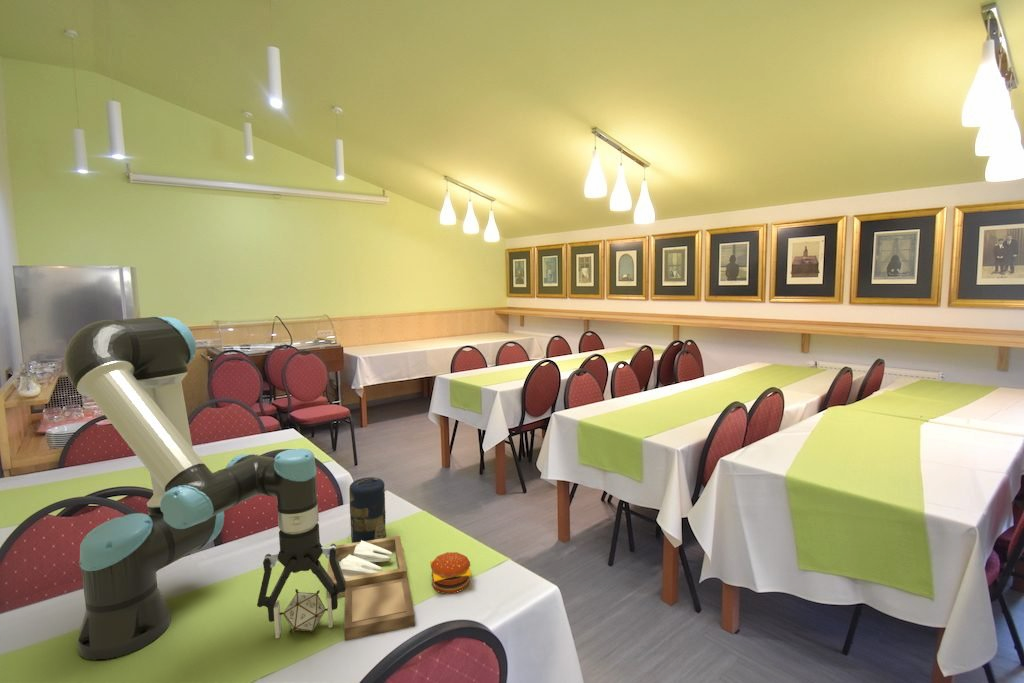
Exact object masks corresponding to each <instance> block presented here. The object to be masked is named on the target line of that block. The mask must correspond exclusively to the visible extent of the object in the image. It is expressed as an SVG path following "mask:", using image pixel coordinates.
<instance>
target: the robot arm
mask: <svg viewBox="0 0 1024 683" xmlns="http://www.w3.org/2000/svg"><path fill="white" fill-rule="evenodd" d="M196 354H197V343H196V340H195V337H194V335H193V333H192V331H191V330H190V328H189V327H188V326H187V325H186V324H184V322H183V321H181V320H180V319H178V318H175V317H172V316H171V317H170V316H150V317H139V318H138V317H135V318H123V319H103V320H98V321H95V322H94V321H93V322H92V323H89V324H87V325H85V326H83V327H82V328H81V329H79V330H77V331H76V333H74V334H73V336H72V338H71V339H70V340H69V342H68V344H67V346H66V349H65V353H64V368H65V372H66V375H67V378H68V380H69V381H70V383H71V385H72V386H73V387H74V388H75V390H76V391H77V392H78V393H79V395H80V396H83V397H89V398H91V400H93V402H94V403H95V404H96V406H97V407H98V409H99V410H100V411H101V412H102V413H103V415H104V417H106V419H107V420H108V421H109V422H110V423H111V425H112V426H113V427H114V429H115V430H116V431H117V432H118V434H119V435H120V436H121V438H122V439H123V441H124V442H126V444H127V445H128V447H129V448H130V449H131V451H133V453H134V454H135V455H136V457H137V458H138V459H139V460H140V462H141V463H142V464H143V465H144V467H145V468H146V470H147V471H148V472H149V476H150V481H151V486H152V492H153V495H152V496H151V498H150V499H149V500H148V501H147V502H146V506H147V513H148V514H146V513H143V512H141V513H139V512H137V513H135V512H134V513H128V514H125V515H124V516H116V517H114V518H112V519H109V520H106V521H104V522H103V523H100V524H99V525H98V526H96V527H94V528H93V529H92V530H90V531H89V532H88V533H87V534H86V535H85V536H84V537H83V539H82V541H81V542H80V544H79V545H80V546H79V561H78V562H79V567H80V570H81V579H82V586H83V595H84V604H85V612H84V616H83V620H82V622H81V626H80V630H79V633H78V636H77V648H78V649H77V651H78V654H79V656H80V655H81V656H82V657H81V658H83V657H84V658H83V659H85V658H87V659H86V660H89V659H94V660H93V661H97V660H96V659H106V660H110V659H109V658H111V659H115V658H114V657H116V658H119V657H123V656H125V654H126V655H128V654H131V653H133V652H136V651H137V650H139V649H140V650H141V649H142V648H144V647H146V646H147V645H149V644H151V643H152V642H154V641H155V640H156V639H158V638H159V637H160V636H162V635H163V634H164V632H166V630H167V629H168V627H170V624H171V610H170V607H169V604H168V603H167V601H166V600H165V597H164V596H163V594H162V592H161V591H160V589H159V588H158V587H159V586H158V580H157V576H158V575H157V572H158V571H160V570H162V569H163V568H165V567H168V566H170V565H171V564H173V563H174V562H177V561H179V560H180V559H182V558H184V557H186V556H187V555H191V554H192V553H194V552H196V551H198V550H201V549H202V548H204V547H205V546H206V545H208V544H209V543H212V542H214V541H215V539H216V538H217V537H218V536H219V534H220V533H221V532H222V529H223V527H224V522H225V511H227V510H228V509H230V508H233V507H235V506H238V505H239V504H242V503H244V502H245V501H247V500H250V499H252V498H254V497H256V496H259V495H261V496H266V497H271V498H273V497H275V498H276V507H277V509H276V510H277V521H278V525H277V526H278V529H279V531H278V538H279V539H278V540H279V551H278V553H276V554H270V553H267V554H265V555H264V557H263V558H264V559H263V561H262V566H263V570H264V572H263V577H262V581H261V585H260V590H259V594H258V599H257V604H256V605H257V606H256V607H258V608H262V607H266V608H267V614H268V615H267V619H268V621H269V623H272V622H274V633H275V636H274V637H275V639H279V638H281V637H280V636H281V634H282V632H281V631H282V621H281V620H282V619H281V616H282V615H280V614H279V613H281V605H280V604H281V603H280V599H278V598H279V596H280V594H281V592H282V590H283V588H284V586H285V584H286V582H287V580H288V579H289V577H290V575H291V573H292V574H296V573H297V574H298V573H299V572H307V571H311V573H312V574H314V575H315V577H316V578H317V579H318V581H319V582H320V583H321V584H322V586H323V587H324V588H325V589H326V592H327V591H328V594H327V593H326V603H327V604H326V605H327V608H328V611H327V622H328V628H329V629H331V628H333V627H334V625H333V624H334V623H333V622H334V613H333V611H334V610H337V609H338V598H339V597H337V595H338V593H340V592H344V591H345V590H346V582H345V579H344V576H343V573H342V570H341V567H340V565H339V563H340V561H338V559H337V556H336V544H335V543H332V544H330V545H329V546H322V544H321V542H320V541H321V539H320V524H319V521H320V520H319V503H318V490H317V473H318V472H317V465H316V459H315V453H313V451H312V450H310V449H307V448H291V449H287V450H286V449H285V450H283V451H281V452H279V453H277V454H276V455H275V456H274V457H271V456H264V455H260V454H254V453H251V454H239V455H236V456H234V457H233V458H232V459H231V460H230V461H229V462H228V463H227V464H226V466H225V468H223V469H222V468H221V469H219V470H217V471H213V472H212V470H210V468H209V467H208V466H207V465H206V464H205V463H204V461H203V460H202V459H201V458H200V456H199V455H198V453H196V451H195V450H194V449H193V442H192V436H191V432H190V425H189V419H188V413H187V408H186V407H187V406H186V400H185V396H184V395H185V394H184V389H183V385H182V384H183V383H182V381H183V379H185V377H186V376H187V375H188V374H189V373H188V372H189V371H188V366H187V365H189V364H191V363H192V361H194V359H195V355H196ZM322 554H323V555H324V556H325V558H326V559H328V561H330V565H331V568H332V571H333V573H334V576H335V579H336V582H337V585H336V584H335V583H334V582H333V580H332V579H331V577H330V576H329V575H328V571H326V569H325V568H324V566H323V565H322V564H321V561H320V560H319V559H320V557H321V556H322ZM277 562H279V563H280V564H281V565H282V566H283V567H284V568H283V570H282V571H281V574H280V576H279V578H278V580H277V581H276V584H275V585H274V587H273V590H272V592H271V594H270V595H269V596H267V592H268V589H269V584H270V580H271V575H272V570H273V568H274V567H275V566H276V563H277ZM153 640H154V641H153ZM122 655H123V656H122ZM118 656H119V657H118Z"/></svg>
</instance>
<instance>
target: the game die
mask: <svg viewBox="0 0 1024 683" xmlns="http://www.w3.org/2000/svg"><path fill="white" fill-rule="evenodd" d="M320 591H321V590H317V591H316V592H301V591H299V590H298V589H297V588H295V595H294V596H293V598H292V600H291V601H290V602H289V604H288V605H287V607H286V609H284V611H283V612H281V611H280V613H279V614H280V616H284V618H285V620H286V621H287V623H288V626H290V631H289V632H290V634H292V633H293V632H295V631H304V632H311V634H312V635H313V636H315V635H316V634H315V628H316V627H317V626H318V624H319V622H320V620H321V619H322V617H323V615H324V614H325V613H326V612H328V607H326V606H325V605H324V603H323V602H322V600H321V597H320V596H319V594H320Z"/></svg>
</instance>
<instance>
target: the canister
mask: <svg viewBox="0 0 1024 683" xmlns="http://www.w3.org/2000/svg"><path fill="white" fill-rule="evenodd" d="M348 489H349V490H348V492H349V513H350V514H349V515H350V538H351V541H352V542H351V543H356V542H361V540H362V541H369V540H375V539H382V538H386V535H387V531H386V530H387V529H386V491H385V490H386V489H385V481H384V480H382V479H381V478H379V477H362V478H358V479H356V480H354V481H353V482H352V483H351V484H350V485H349V488H348Z"/></svg>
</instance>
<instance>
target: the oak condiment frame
mask: <svg viewBox="0 0 1024 683" xmlns="http://www.w3.org/2000/svg"><path fill="white" fill-rule="evenodd" d="M365 542H368V543H370V544H373V545H376V546H378V547H381V548H383V549H386V550H388V551H390V552H392V553H395V558H396V563H397V564H396V565H397V568H393V569H388V570H382V571H376V573H370V574H364V575H358V576H353V577H347V578H344V579H345V582H346V589H348V588H353V587H359V586H364V585H370V584H376V583H381V582H387V581H392V580H398V579H404V578H408V571H407V565H406V560H405V554H404V550H403V545H402V544H403V543H402V540H401V536H400V535H396V536H389V537H385V538H382V539H375V540H369V541H365ZM357 544H360V542H356V543H353V542H349V543H344V544H337V545H336V544H335V545H336V556H337V559H338V562H341V560H342V559H344V558H346V557H347V556H348V555H349V554H350V555H353V554H354V550H355V547H356V546H357ZM353 556H354V555H353ZM327 563H328V564H327V573H328V575H329V576H330V577H331V579H332V580H333V582H334V583H335V584H336V585H337V582H336V579H335V576H334V573H333V571H332V568H331V565H330V561H329V560H328V561H327ZM327 594H328V591H327V590H326V595H327ZM340 597H345V591H344V592H340V593H338V595H337V598H340Z"/></svg>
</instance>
